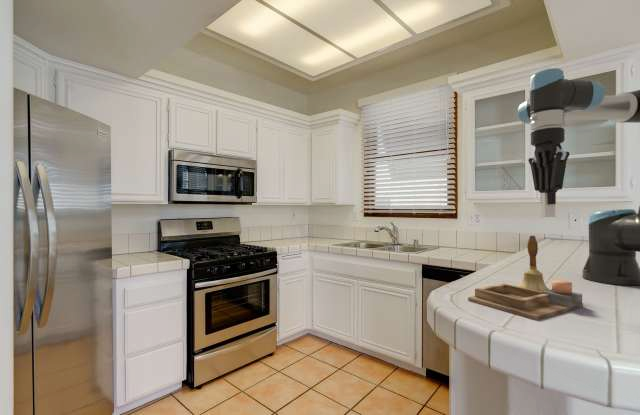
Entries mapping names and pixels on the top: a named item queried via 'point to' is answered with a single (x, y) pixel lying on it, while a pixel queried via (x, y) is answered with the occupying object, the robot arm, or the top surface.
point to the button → (562, 287)
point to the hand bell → (533, 270)
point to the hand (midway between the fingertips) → (548, 216)
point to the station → (526, 300)
